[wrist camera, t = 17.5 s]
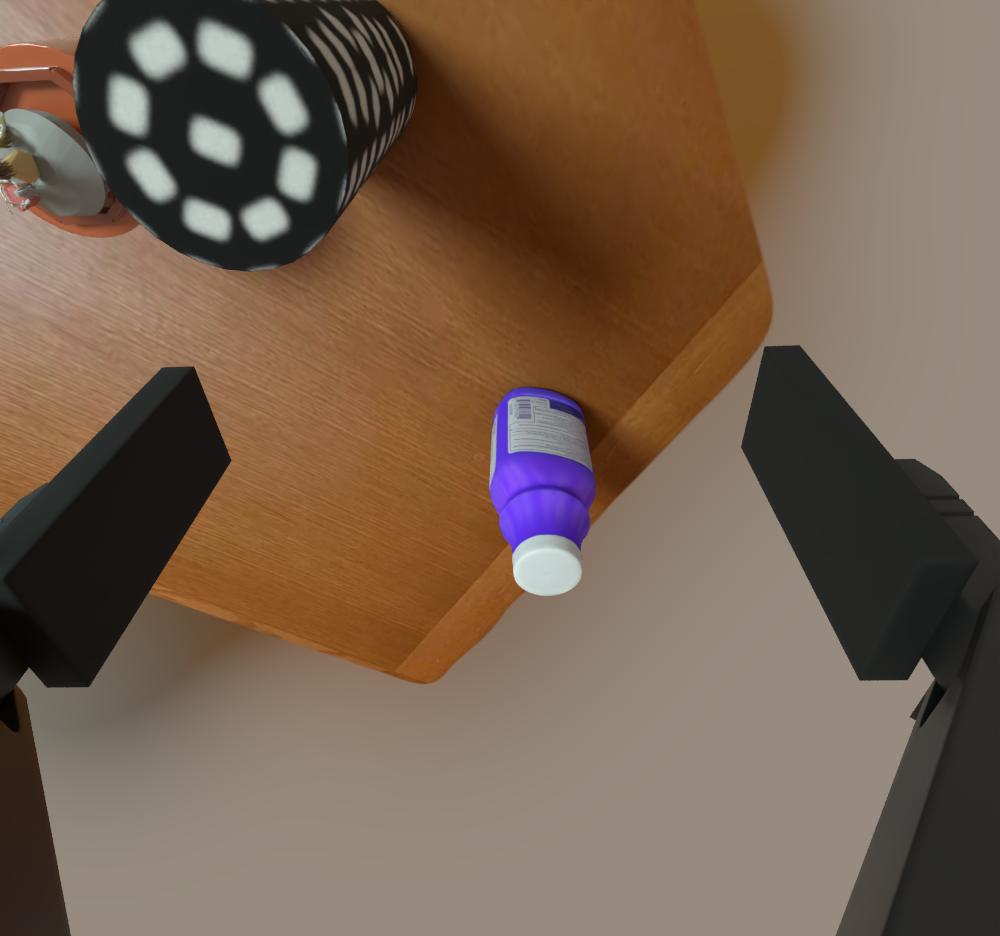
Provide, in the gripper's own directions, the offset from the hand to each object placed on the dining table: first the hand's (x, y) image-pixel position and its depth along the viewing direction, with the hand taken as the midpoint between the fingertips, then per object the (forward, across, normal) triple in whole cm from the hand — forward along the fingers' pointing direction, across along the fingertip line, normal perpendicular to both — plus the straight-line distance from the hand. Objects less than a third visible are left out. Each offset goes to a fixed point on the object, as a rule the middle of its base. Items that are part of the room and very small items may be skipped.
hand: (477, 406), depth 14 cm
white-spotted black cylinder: (+29, -9, +5) cm, 31 cm away
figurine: (+20, -21, +3) cm, 29 cm away
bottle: (+30, +2, -19) cm, 35 cm away
